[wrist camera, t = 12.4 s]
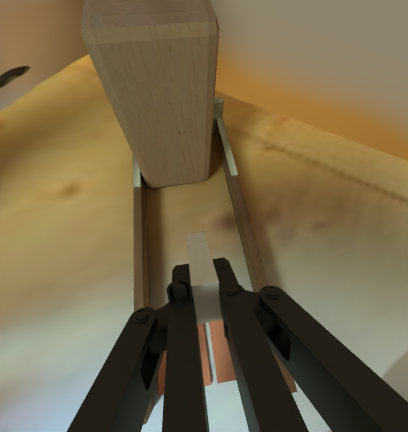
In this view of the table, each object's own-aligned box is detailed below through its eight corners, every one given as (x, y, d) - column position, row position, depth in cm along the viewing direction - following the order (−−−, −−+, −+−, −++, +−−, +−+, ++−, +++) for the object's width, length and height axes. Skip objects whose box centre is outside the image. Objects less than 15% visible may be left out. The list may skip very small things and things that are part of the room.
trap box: (143, 410, 20) (122, 448, 14) (138, 135, 36) (127, 105, 30) (284, 380, 21) (314, 406, 16) (219, 128, 37) (222, 97, 31)
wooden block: (199, 137, 36) (198, -36, 18) (210, 182, 32) (223, 16, 14) (144, 144, 35) (83, -32, 17) (147, 191, 31) (72, 26, 13)
